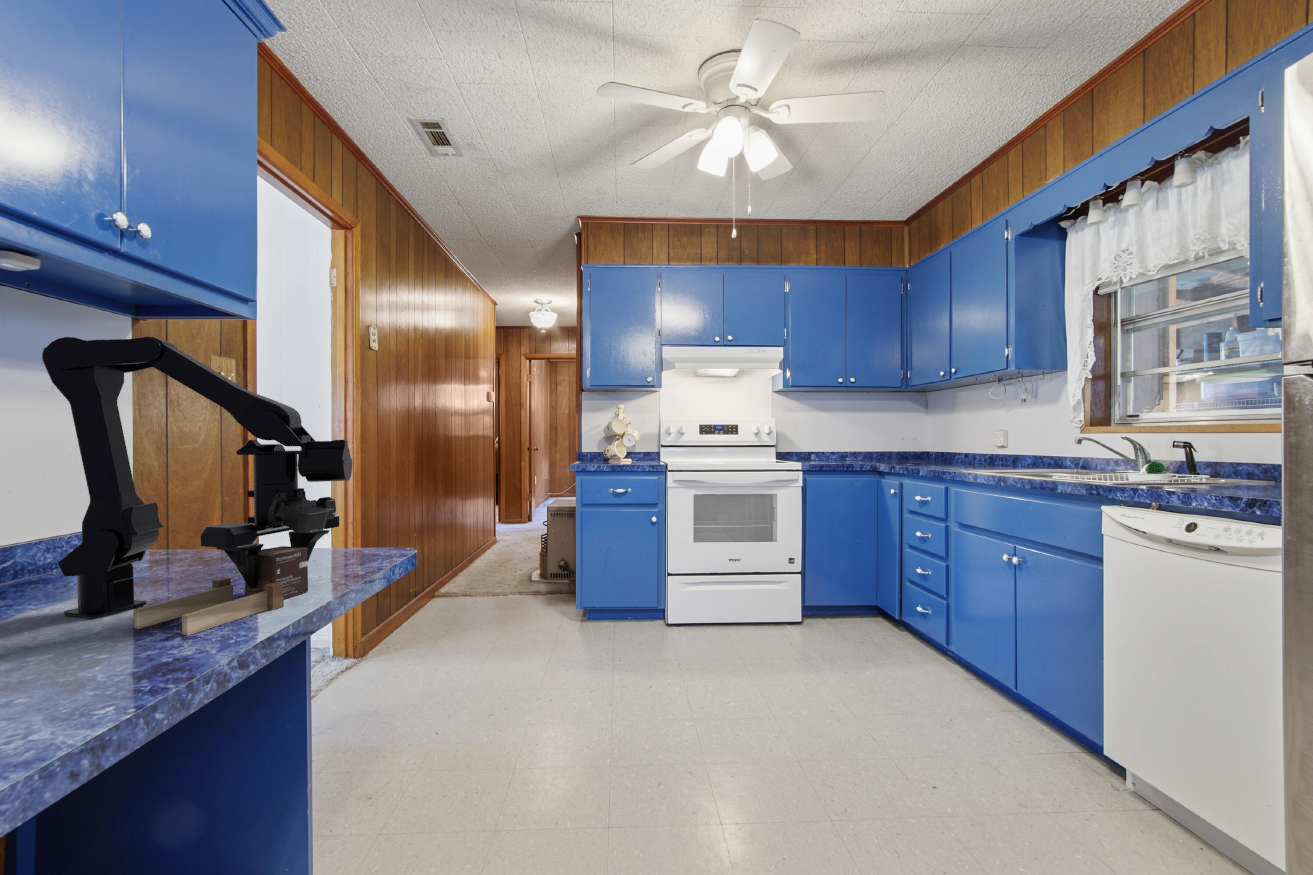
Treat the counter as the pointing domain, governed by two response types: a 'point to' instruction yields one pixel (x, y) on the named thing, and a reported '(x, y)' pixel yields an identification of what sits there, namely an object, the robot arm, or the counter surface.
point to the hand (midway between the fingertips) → (277, 581)
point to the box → (282, 570)
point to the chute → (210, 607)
